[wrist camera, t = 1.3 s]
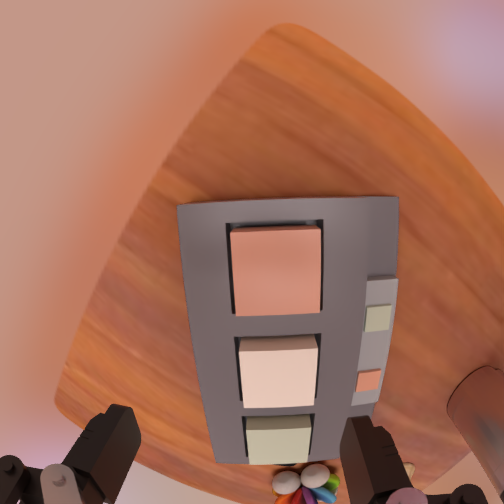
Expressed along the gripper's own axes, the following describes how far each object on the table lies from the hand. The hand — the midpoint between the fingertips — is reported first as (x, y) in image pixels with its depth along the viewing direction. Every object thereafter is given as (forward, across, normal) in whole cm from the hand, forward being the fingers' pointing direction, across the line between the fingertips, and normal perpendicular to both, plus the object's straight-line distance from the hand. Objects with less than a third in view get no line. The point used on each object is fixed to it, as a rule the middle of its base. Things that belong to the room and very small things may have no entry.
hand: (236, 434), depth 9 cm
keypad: (+17, -4, +6) cm, 19 cm away
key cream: (+14, -2, +6) cm, 16 cm away
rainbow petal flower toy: (+18, -7, +30) cm, 36 cm away
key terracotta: (+14, -2, -3) cm, 15 cm away
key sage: (+14, -3, +15) cm, 21 cm away
